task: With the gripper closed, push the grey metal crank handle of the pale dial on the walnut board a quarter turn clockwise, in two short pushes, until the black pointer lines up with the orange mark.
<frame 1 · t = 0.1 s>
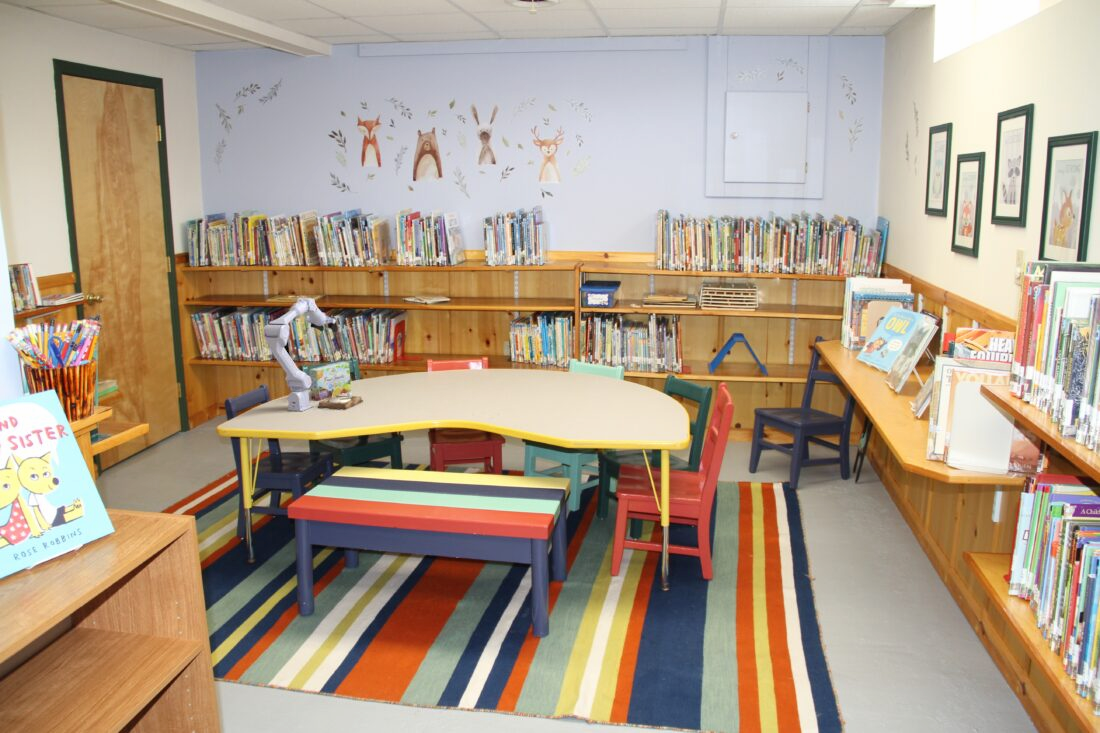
hand: (329, 329, 422), 32 cm above the table, tool tilted 50°, fingers open, 7 cm apart
snack box: (331, 396, 426), on the table
dial: (340, 397, 406), point 3 cm above the table, hinge at 0.0°
dial board: (340, 404, 407), on the table
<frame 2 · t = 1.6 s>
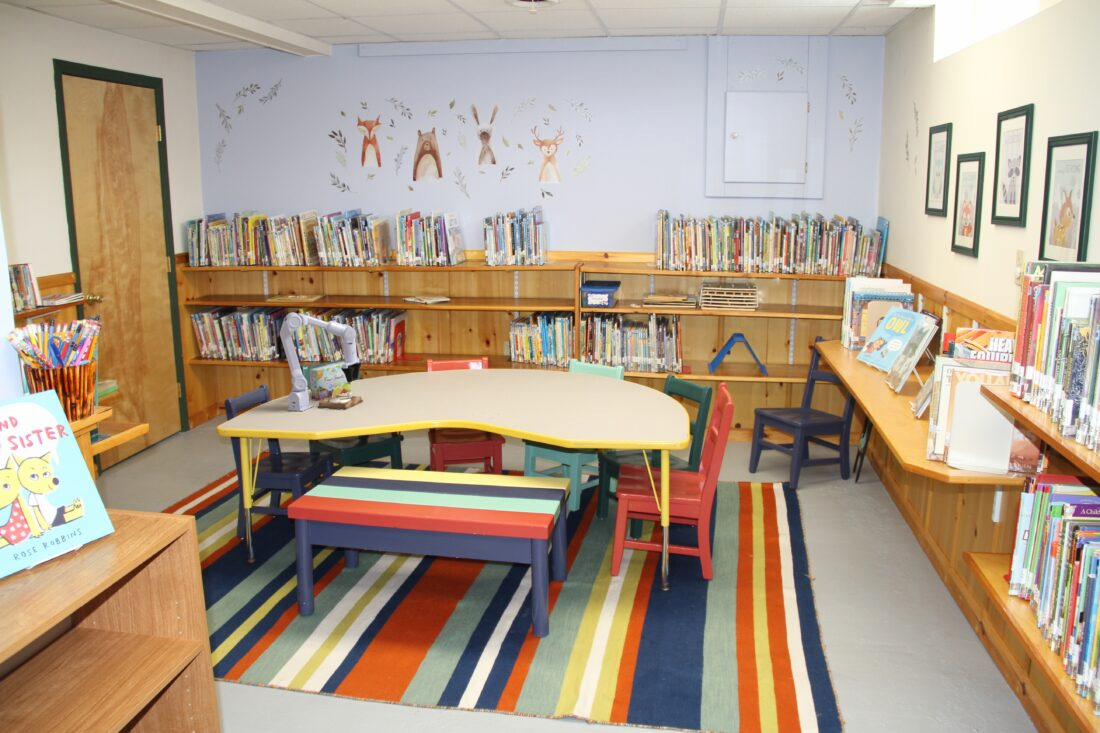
hand: (352, 380, 410), 10 cm above the table, tool pointing down, fingers open, 6 cm apart
nothing on the table moved.
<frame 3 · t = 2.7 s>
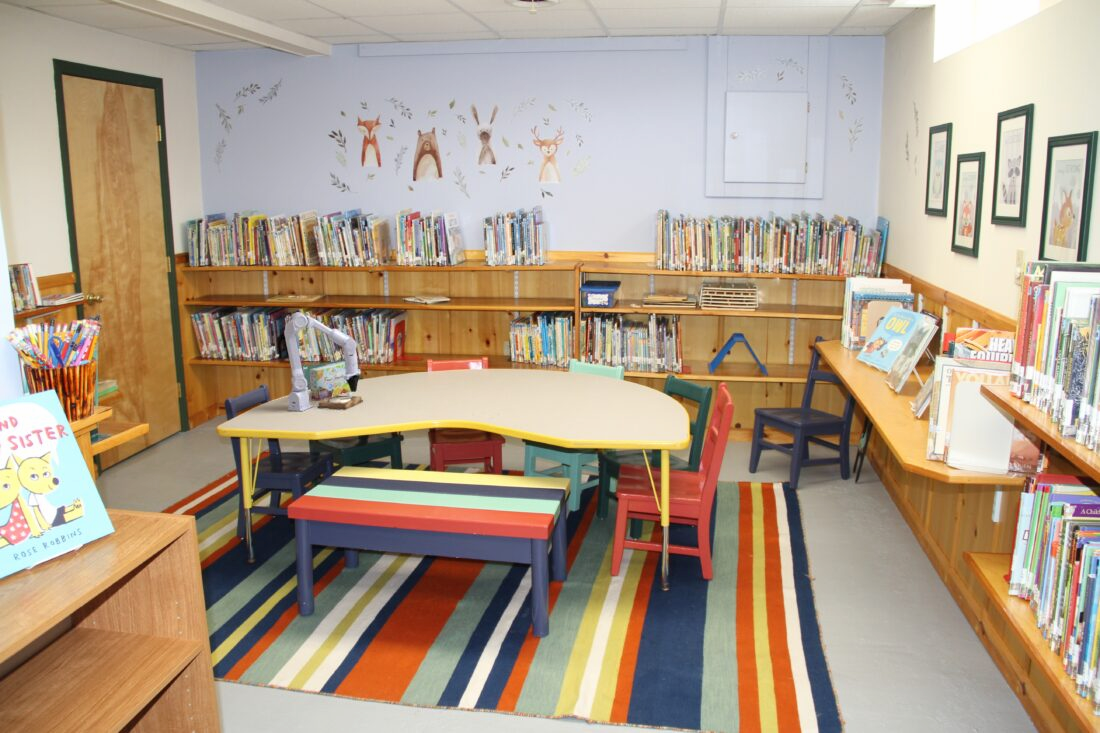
hand: (353, 391, 411), 5 cm above the table, tool pointing down, fingers closed
nothing on the table moved.
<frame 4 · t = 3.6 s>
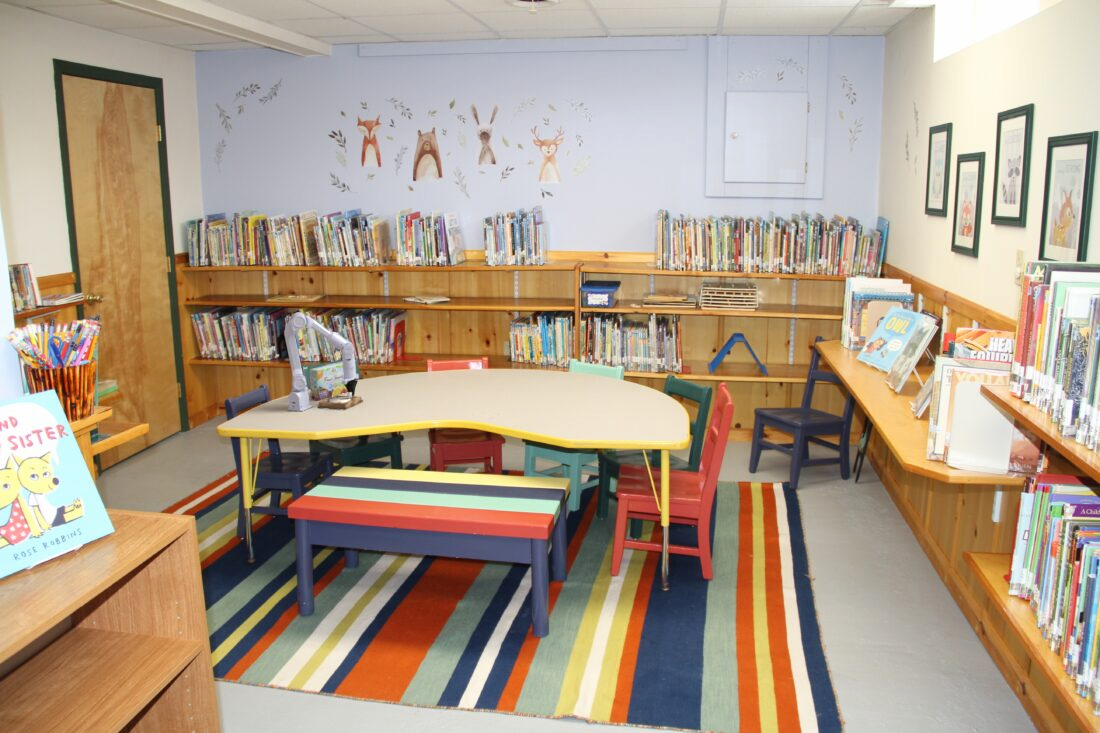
hand: (351, 396, 409), 3 cm above the table, tool pointing down, fingers closed, pressing on dial
dial: (340, 397, 406), point 3 cm above the table, hinge at 0.0°, touching gripper
everything else where it was.
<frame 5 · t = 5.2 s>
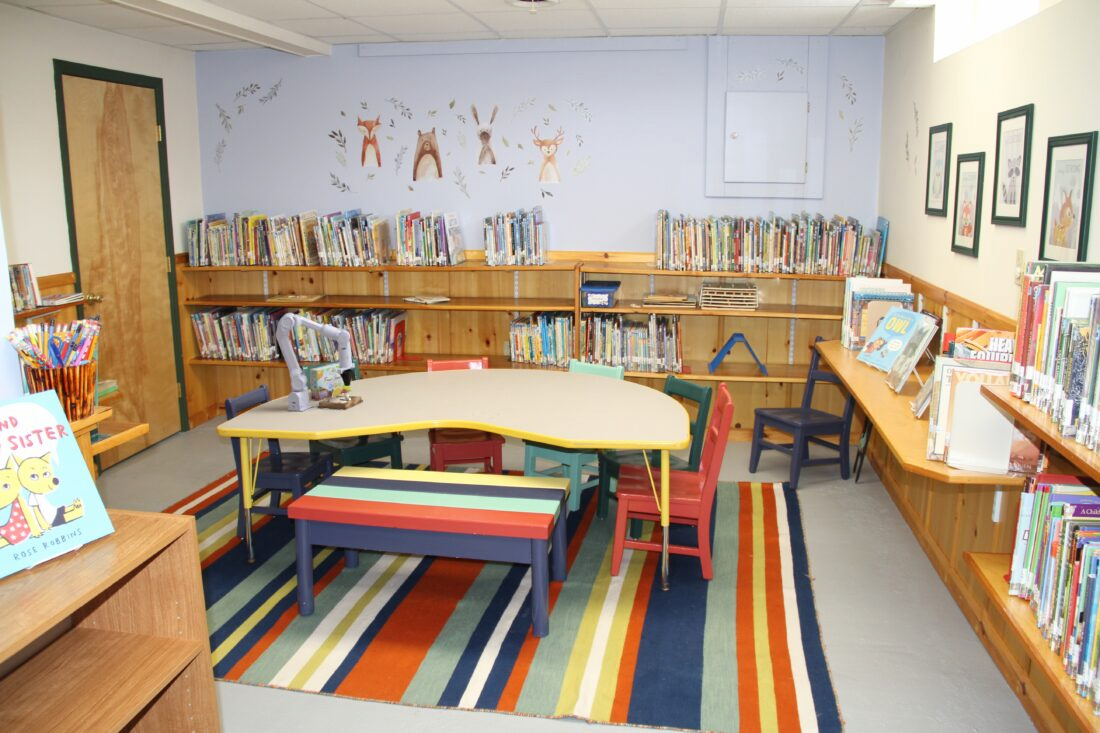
hand: (347, 385, 404), 9 cm above the table, tool pointing down, fingers closed
dial: (340, 397, 406), point 4 cm above the table, hinge at 43.8°
everything else where it was.
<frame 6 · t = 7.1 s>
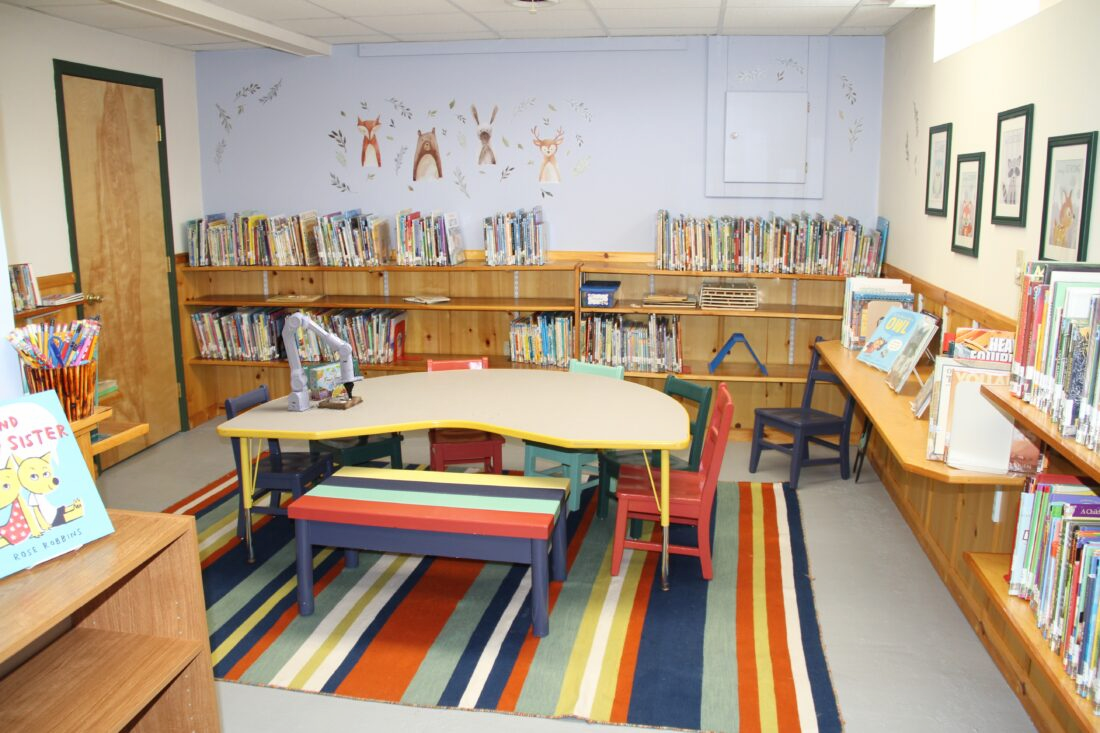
hand: (349, 398, 404), 3 cm above the table, tool pointing down, fingers closed, pressing on dial
dial: (340, 397, 406), point 3 cm above the table, hinge at 45.6°, touching gripper
everything else where it was.
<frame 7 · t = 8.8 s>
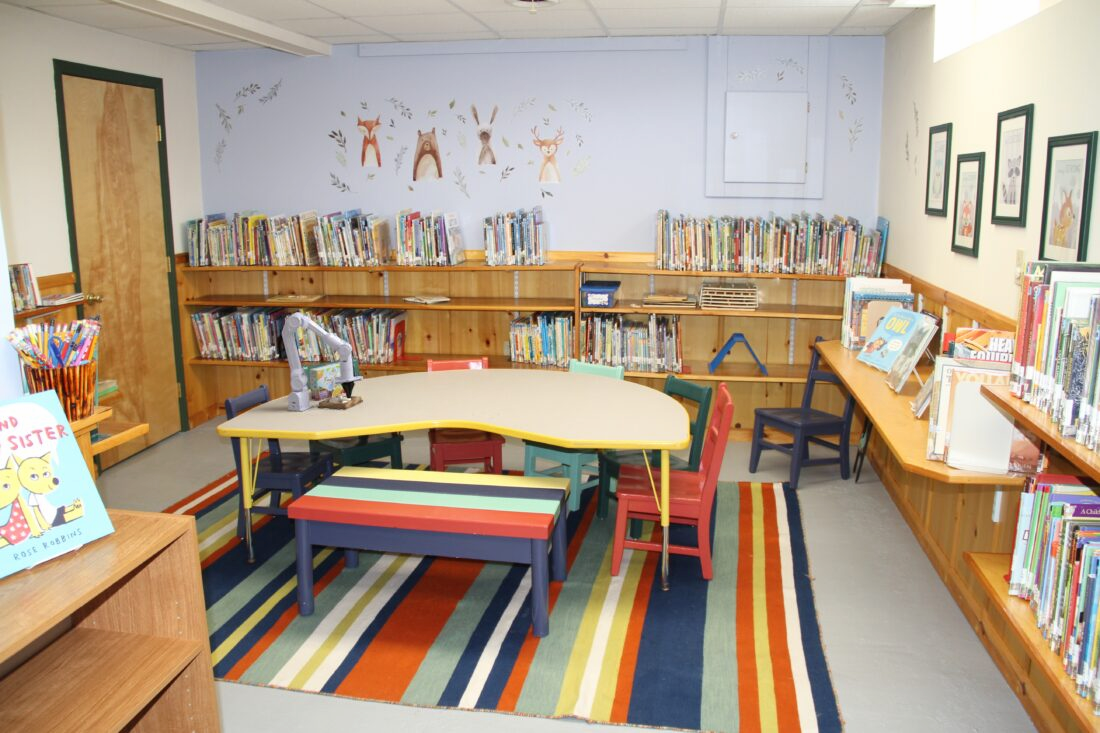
hand: (348, 397, 404), 4 cm above the table, tool pointing down, fingers closed
dial: (340, 397, 406), point 3 cm above the table, hinge at 83.5°
everything else where it was.
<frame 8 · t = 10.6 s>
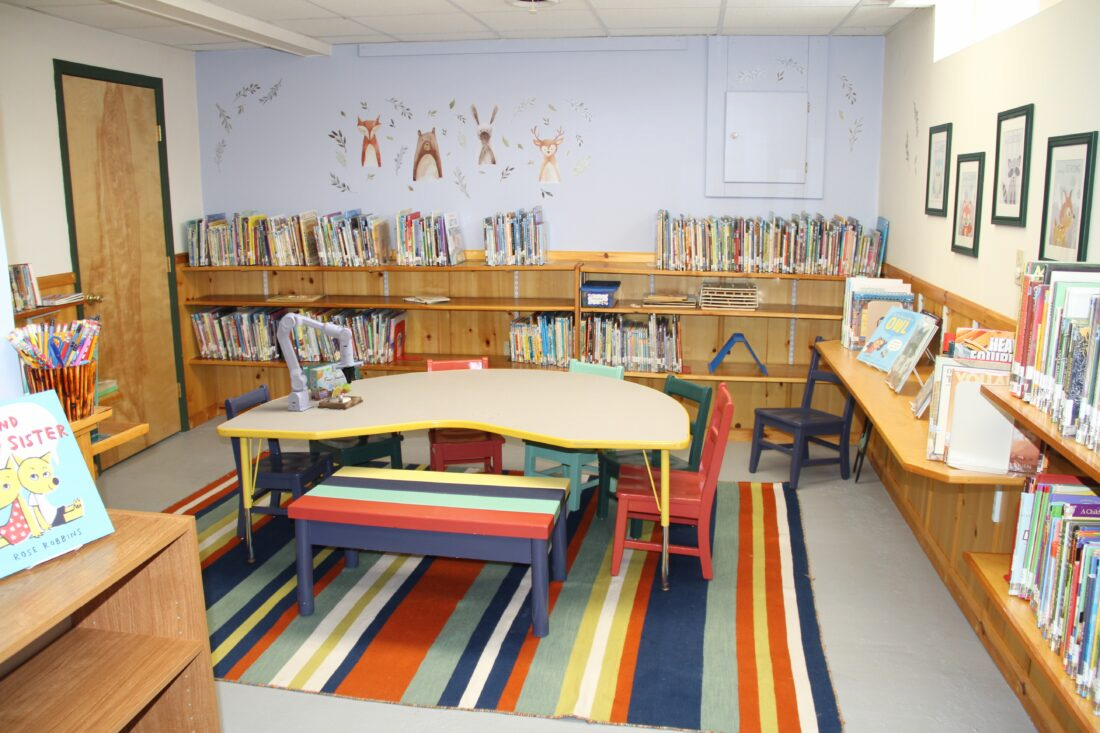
hand: (349, 383, 404), 10 cm above the table, tool pointing down, fingers closed
nothing on the table moved.
at the end: dial at +84° (first picture: +0°) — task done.
